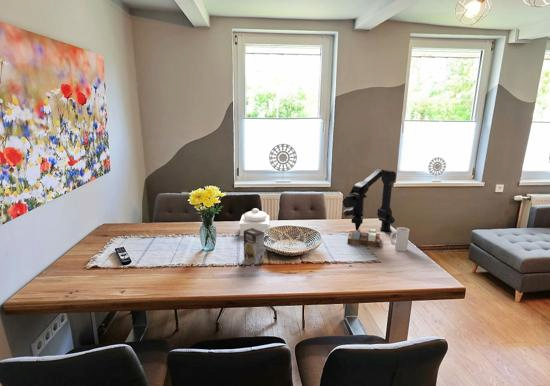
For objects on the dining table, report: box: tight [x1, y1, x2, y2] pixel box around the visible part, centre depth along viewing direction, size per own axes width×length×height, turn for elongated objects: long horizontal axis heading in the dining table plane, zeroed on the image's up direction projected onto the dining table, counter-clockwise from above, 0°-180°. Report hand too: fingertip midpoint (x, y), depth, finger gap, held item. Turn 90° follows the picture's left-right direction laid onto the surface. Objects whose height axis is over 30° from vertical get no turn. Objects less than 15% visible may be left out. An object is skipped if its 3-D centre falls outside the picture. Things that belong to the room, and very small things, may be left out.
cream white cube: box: [368, 232, 377, 242], centre depth 192 cm, size 4×4×4 cm
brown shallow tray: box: [346, 230, 381, 248], centre depth 197 cm, size 14×18×3 cm
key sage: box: [368, 228, 377, 235], centre depth 198 cm, size 4×4×4 cm
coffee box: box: [243, 228, 265, 265], centre depth 171 cm, size 9×6×16 cm
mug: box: [389, 226, 410, 252], centre depth 185 cm, size 10×7×12 cm, turn 89°
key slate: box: [352, 230, 361, 240], centre depth 194 cm, size 4×4×4 cm
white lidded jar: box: [238, 207, 270, 236], centre depth 210 cm, size 18×18×16 cm
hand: (356, 229), depth 201 cm, fingers closed, pressing on key terracotta
